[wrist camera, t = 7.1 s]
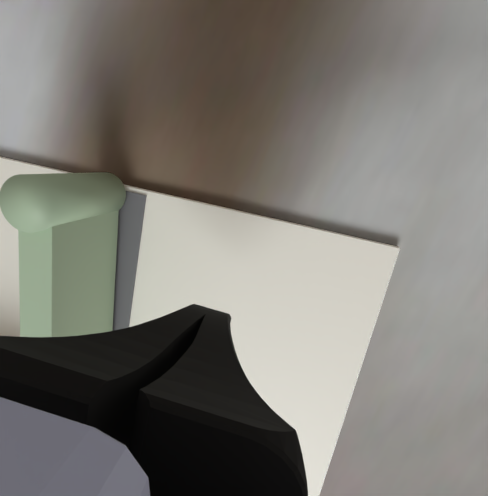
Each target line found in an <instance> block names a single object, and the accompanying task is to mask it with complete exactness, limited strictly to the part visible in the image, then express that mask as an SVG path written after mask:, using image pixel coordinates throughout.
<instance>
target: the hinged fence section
mask: <svg viewBox="0 0 488 496" xmlns="http://www.w3.org/2000/svg"><path fill="white" fill-rule="evenodd" d="M125 199H126V190H125V187H124V185H123V183H122V181H121V180H120V179H119V178H118V177H117V176H115V175H114V174H112V173H108V172H91V173H52V174H18V175H14V176H12V177H10V178H8V179H7V180H6V181H5V182H4V184H3V185H2V187H1V190H0V208H1V211H2V213H3V215H4V217H5V219H6V220H7V221H8V222H9V223H10V224H11V225H12V226H13V227H14V228H16V229H18V240H19V295H20V337H65V336H79V335H87V334H95V333H103V332H109V331H113V311H114V292H115V272H116V253H117V234H118V214H119V210H120V209H121V208H122V206H123V205H124V203H125Z"/></svg>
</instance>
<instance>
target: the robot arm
mask: <svg viewBox="0 0 488 496" xmlns="http://www.w3.org/2000/svg"><path fill="white" fill-rule="evenodd" d="M230 322H231V316H230V314H228V313H225V312H221V311H218V310H214V309H211V308H207V307H204V306H200V305H197V304H192V305H189V306H187V307H184V308H182V309H180V310H177V311H175V312H172V313H170V314H167V315H165V316H162V317H160V318H157V319H154V320H151V321H148V322H145V323H142V324H139V325H135V326H132V327H128V328H124V329H119V330H114V331H109V332H103V333H95V334H87V335H79V336H65V337H16V336H0V496H308V487H307V478H306V472H305V466H304V461H303V456H302V451H301V447H300V443H299V439H298V435H297V432H296V430H295V429H294V428H293V427H292V426H290V425H289V424H288V423H287V422H286V421H285V420H283V419H282V418H281V417H280V416H279V415H278V414H276V413H275V412H274V411H273V410H272V409H271V408H270V407H269V406H268V405H267V403H266V402H265V401H264V400H263V399H262V398H261V397H260V395H259V394H258V393H257V392H256V390H255V389H254V388H253V386H252V385H251V383H250V382H249V380H248V379H247V377H246V375H245V373H244V371H243V369H242V367H241V365H240V362H239V360H238V357H237V354H236V351H235V348H234V344H233V340H232V335H231V328H230Z"/></svg>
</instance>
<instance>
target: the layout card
mask: <svg viewBox="0 0 488 496" xmlns="http://www.w3.org/2000/svg"><path fill="white" fill-rule="evenodd" d="M52 173H72V172H67V171H63V170H58V169H54V168H50V167H45V166H41V165H36V164H32V163H27V162H23V161H19V160H14V159H10V158H5V157H1V156H0V190H1V187H2V185H3V184H4V182H5V181H6V180H7V179H8V178H10V177H12V176H14V175H18V174H52ZM123 185H124V187H125V190H126V199H125V203H124V205H123V206H122V208H121V209H120V210H119V214H118V234H117V253H116V272H115V292H114V311H113V331H114V330H119V329H124V328H128V327H132V326H135V325H139V324H142V323H145V322H148V321H151V320H154V319H157V318H160V317H162V316H165V315H167V314H170V313H172V312H175V311H177V310H180V309H182V308H184V307H187V306H189V305H192V304H197V305H200V306H204V307H207V308H211V309H214V310H218V311H221V312H225V313H228V314H230V316H231V322H230V328H231V335H232V340H233V344H234V348H235V351H236V354H237V357H238V360H239V362H240V365H241V367H242V369H243V371H244V373H245V375H246V377H247V379H248V380H249V382H250V383H251V385H252V386H253V388H254V389H255V390H256V392H257V393H258V394H259V395H260V397H261V398H262V399H263V400H264V401H265V402H266V403H267V405H268V406H269V407H270V408H271V409H272V410H273V411H274V412H275V413H276V414H278V415H279V416H280V417H281V418H282V419H283V420H285V421H286V422H287V423H288V424H289V425H290V426H292V427H293V428H294V429H295V430H296V432H297V435H298V439H299V443H300V447H301V451H302V456H303V461H304V466H305V472H306V478H307V487H308V496H319V495H320V492H321V488H322V485H323V482H324V479H325V476H326V473H327V470H328V467H329V464H330V461H331V458H332V455H333V452H334V449H335V446H336V443H337V440H338V437H339V434H340V430H341V427H342V424H343V421H344V418H345V415H346V412H347V409H348V406H349V403H350V400H351V397H352V394H353V391H354V388H355V385H356V382H357V379H358V376H359V372H360V369H361V366H362V363H363V360H364V357H365V354H366V351H367V348H368V345H369V342H370V339H371V336H372V333H373V330H374V327H375V324H376V321H377V318H378V315H379V311H380V308H381V305H382V302H383V299H384V296H385V293H386V290H387V287H388V284H389V281H390V278H391V275H392V272H393V269H394V266H395V263H396V260H397V257H398V253H399V250H400V248H399V247H398V246H394V245H389V244H385V243H381V242H376V241H372V240H367V239H363V238H359V237H354V236H350V235H345V234H341V233H336V232H332V231H328V230H323V229H319V228H314V227H310V226H306V225H301V224H297V223H292V222H288V221H284V220H279V219H275V218H270V217H266V216H261V215H257V214H253V213H248V212H244V211H239V210H235V209H231V208H226V207H222V206H217V205H213V204H208V203H204V202H200V201H195V200H191V199H186V198H182V197H178V196H173V195H169V194H164V193H160V192H155V191H151V190H147V189H142V188H138V187H133V186H129V185H125V184H123ZM0 336H16V337H20V295H19V240H18V229H16V228H14V227H13V226H12V225H11V224H10V223H9V222H8V221H7V220H6V219H5V217H4V215H3V213H2V211H1V208H0Z"/></svg>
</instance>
